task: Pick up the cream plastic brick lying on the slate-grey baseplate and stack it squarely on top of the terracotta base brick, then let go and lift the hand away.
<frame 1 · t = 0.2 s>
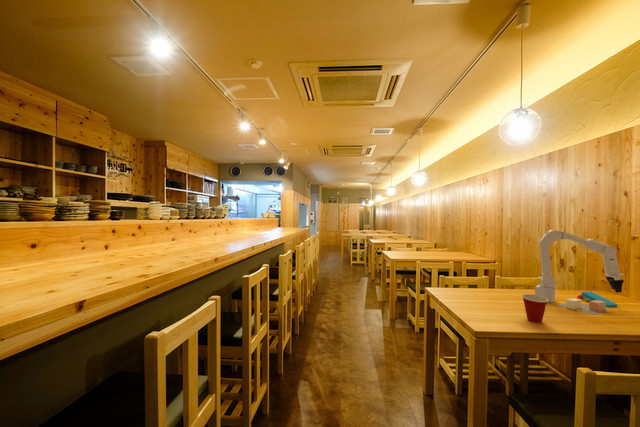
hand: (616, 290, 161), 11 cm above the table, tool pointing down, fingers open, 7 cm apart
teal bar: (594, 304, 172), on the table
terracotta base brick: (597, 309, 158), resting on slate baseplate
plastic cup: (535, 321, 143), on the table
slate baseplate: (582, 309, 161), on the table
cream brick: (573, 307, 161), point 1 cm above the table, touching slate baseplate
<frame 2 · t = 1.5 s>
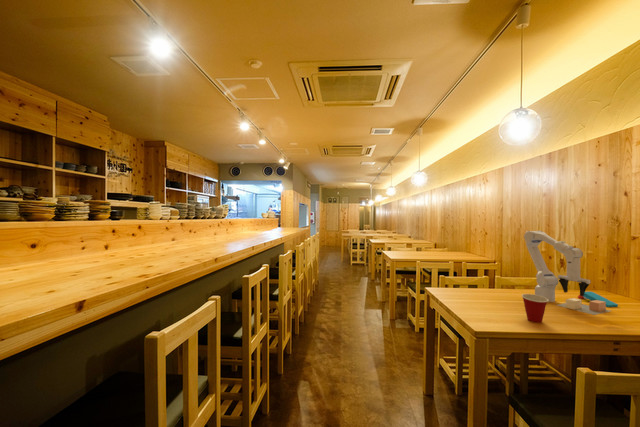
hand: (573, 294, 161), 8 cm above the table, tool pointing down, fingers open, 7 cm apart
nothing on the table moved.
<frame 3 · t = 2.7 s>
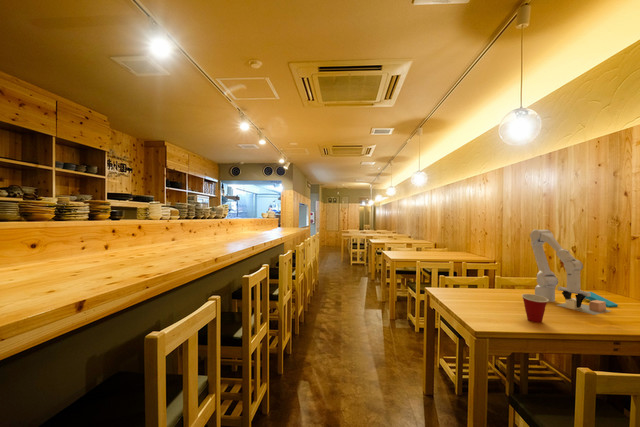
hand: (573, 306, 161), 2 cm above the table, tool pointing down, fingers closed on cream brick, 4 cm apart
cream brick: (573, 307, 161), point 1 cm above the table, touching gripper, slate baseplate
everything else where it was.
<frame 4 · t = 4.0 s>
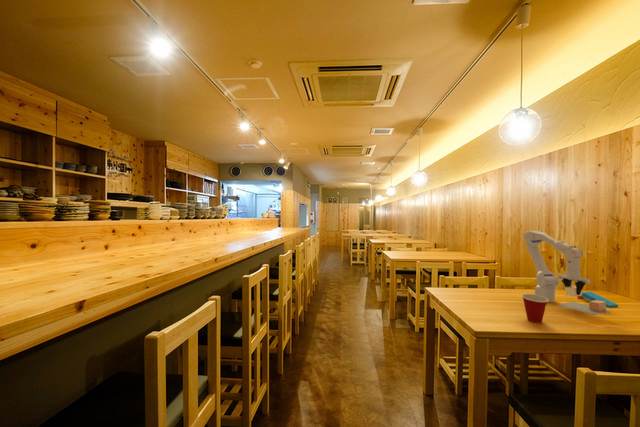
hand: (573, 293, 161), 9 cm above the table, tool pointing down, fingers closed on cream brick, 4 cm apart
cream brick: (573, 295, 161), point 8 cm above the table, touching gripper
everything else where it was.
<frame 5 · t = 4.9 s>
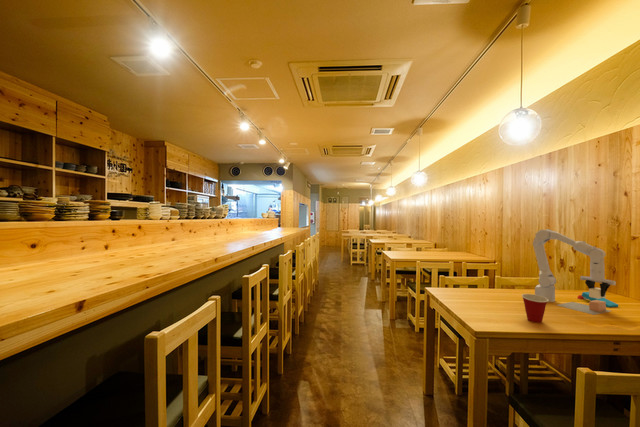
hand: (597, 295, 158), 9 cm above the table, tool pointing down, fingers closed on cream brick, 4 cm apart
cream brick: (597, 297, 158), point 8 cm above the table, touching gripper
everything else where it was.
when the fingers open (7 cm above the table, at t = 5.6 s): cream brick drops 1 cm, resting on terracotta base brick.
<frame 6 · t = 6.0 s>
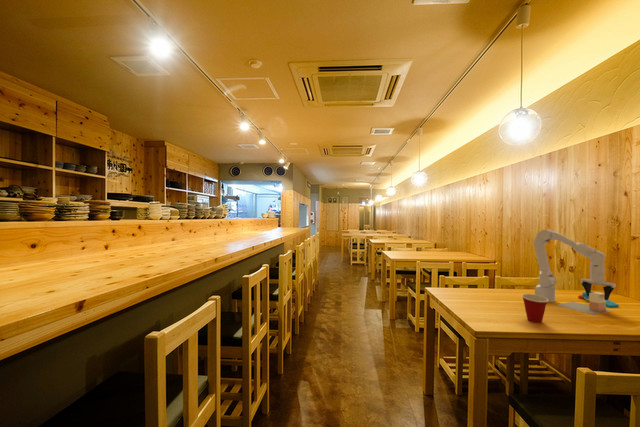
hand: (597, 297, 158), 7 cm above the table, tool pointing down, fingers open, 7 cm apart
cream brick: (597, 301, 158), point 5 cm above the table, touching terracotta base brick
everything else where it was.
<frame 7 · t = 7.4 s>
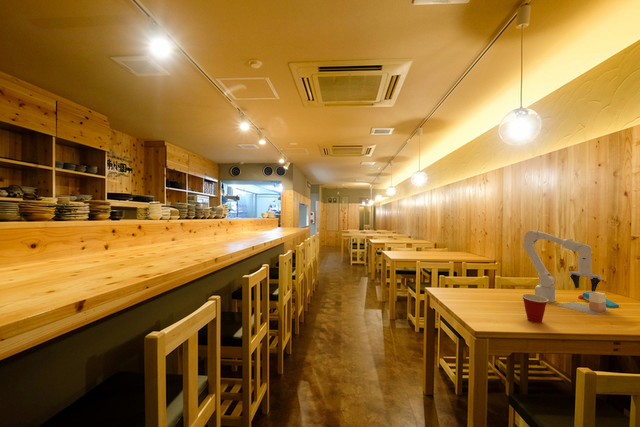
hand: (585, 289, 164), 10 cm above the table, tool pointing down, fingers open, 7 cm apart
nothing on the table moved.
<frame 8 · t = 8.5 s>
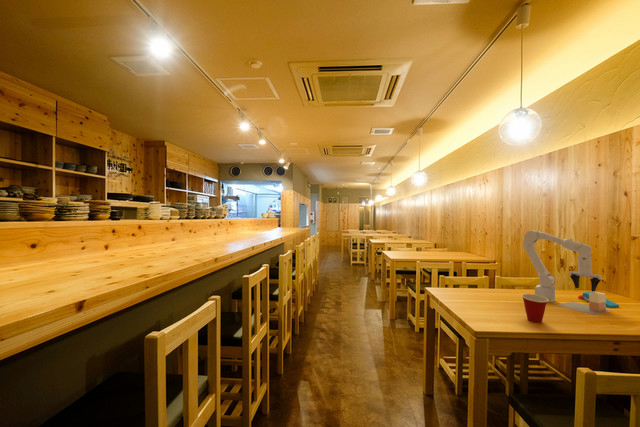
hand: (585, 289, 164), 10 cm above the table, tool pointing down, fingers open, 7 cm apart
at the end: cream brick 0.0 cm off-centre on the terracotta base brick, point 4.5 cm above the terracotta base brick's base; cream brick tilted 0°; the gripper is holding nothing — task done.
